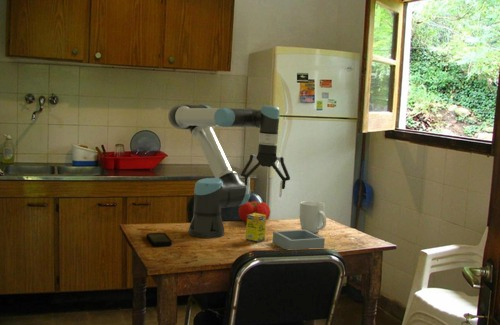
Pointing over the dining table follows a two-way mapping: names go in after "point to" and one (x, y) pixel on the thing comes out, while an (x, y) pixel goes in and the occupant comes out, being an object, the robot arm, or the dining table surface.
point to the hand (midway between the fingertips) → (264, 195)
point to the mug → (312, 216)
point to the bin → (297, 239)
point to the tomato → (253, 209)
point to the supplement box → (255, 227)
